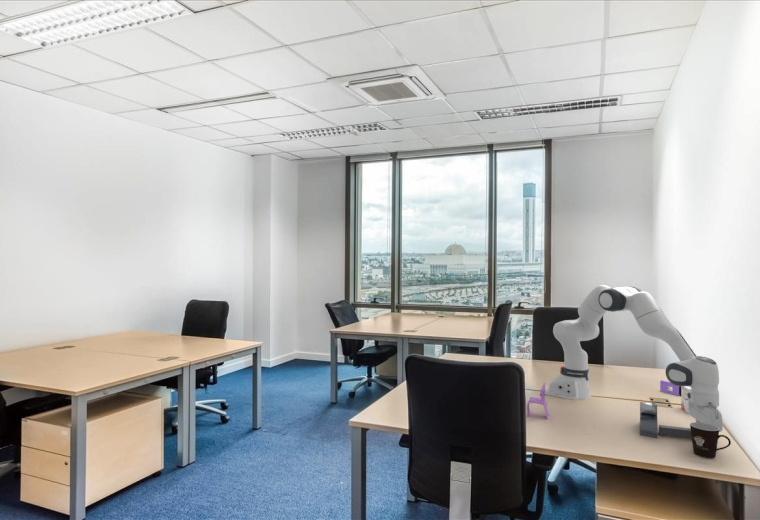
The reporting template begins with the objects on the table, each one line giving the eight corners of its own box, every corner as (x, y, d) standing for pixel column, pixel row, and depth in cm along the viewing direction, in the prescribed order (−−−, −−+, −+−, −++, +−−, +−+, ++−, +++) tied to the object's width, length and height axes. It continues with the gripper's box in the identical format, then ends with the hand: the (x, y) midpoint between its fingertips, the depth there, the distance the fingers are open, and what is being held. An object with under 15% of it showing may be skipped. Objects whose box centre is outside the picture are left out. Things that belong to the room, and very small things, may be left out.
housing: (639, 435, 182) (640, 407, 182) (640, 422, 197) (640, 397, 197) (657, 438, 179) (657, 410, 179) (656, 425, 194) (656, 399, 194)
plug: (661, 436, 181) (661, 425, 182) (658, 432, 186) (658, 421, 186) (709, 441, 176) (709, 430, 176) (705, 437, 180) (705, 426, 180)
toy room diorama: (681, 398, 233) (681, 385, 233) (657, 392, 244) (657, 380, 244) (694, 395, 239) (694, 382, 239) (670, 390, 250) (670, 377, 250)
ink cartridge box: (680, 408, 216) (680, 377, 216) (692, 409, 215) (692, 378, 215) (688, 414, 208) (688, 382, 208) (701, 415, 207) (701, 382, 207)
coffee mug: (684, 449, 168) (684, 422, 168) (706, 449, 169) (706, 422, 169) (709, 463, 156) (709, 434, 156) (733, 462, 157) (733, 433, 157)
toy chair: (529, 412, 210) (529, 379, 210) (549, 415, 206) (549, 381, 206) (526, 417, 202) (526, 383, 202) (547, 420, 198) (547, 386, 198)
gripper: (727, 408, 168) (727, 446, 168) (702, 392, 188) (702, 426, 187) (708, 406, 169) (708, 444, 169) (685, 391, 189) (685, 425, 189)
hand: (705, 434), depth 178 cm, fingers open, 6 cm apart
